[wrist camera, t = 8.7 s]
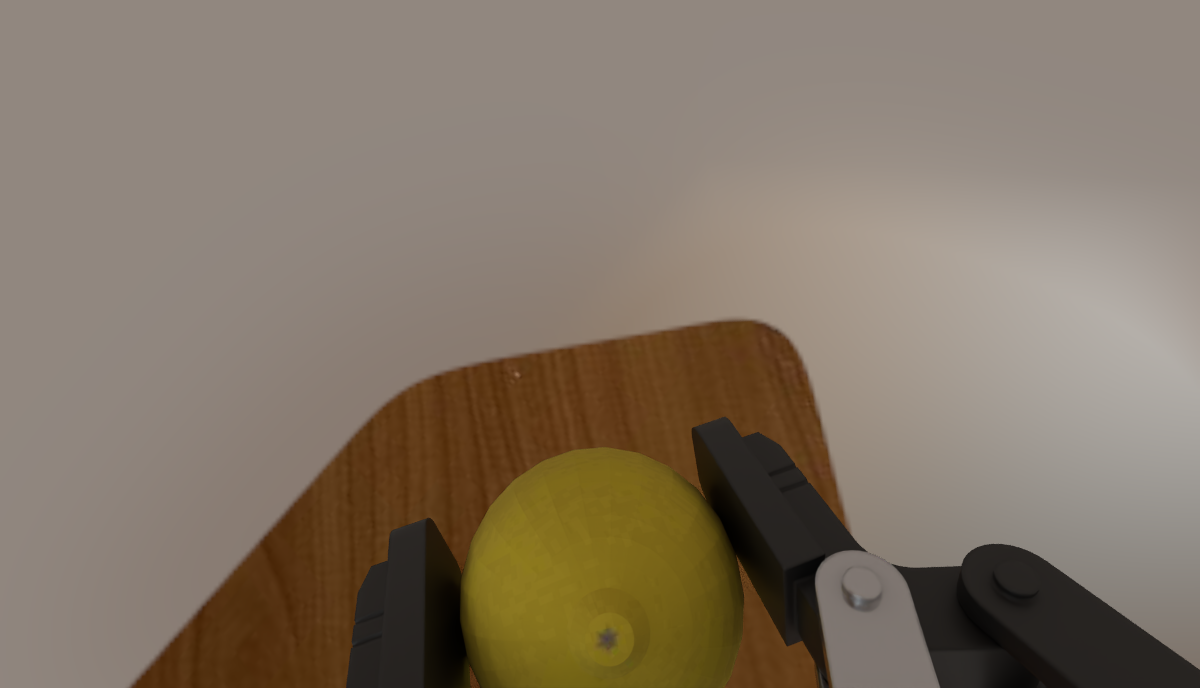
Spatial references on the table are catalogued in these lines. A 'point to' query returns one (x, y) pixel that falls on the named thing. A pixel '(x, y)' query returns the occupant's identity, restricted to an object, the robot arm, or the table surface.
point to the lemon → (601, 580)
